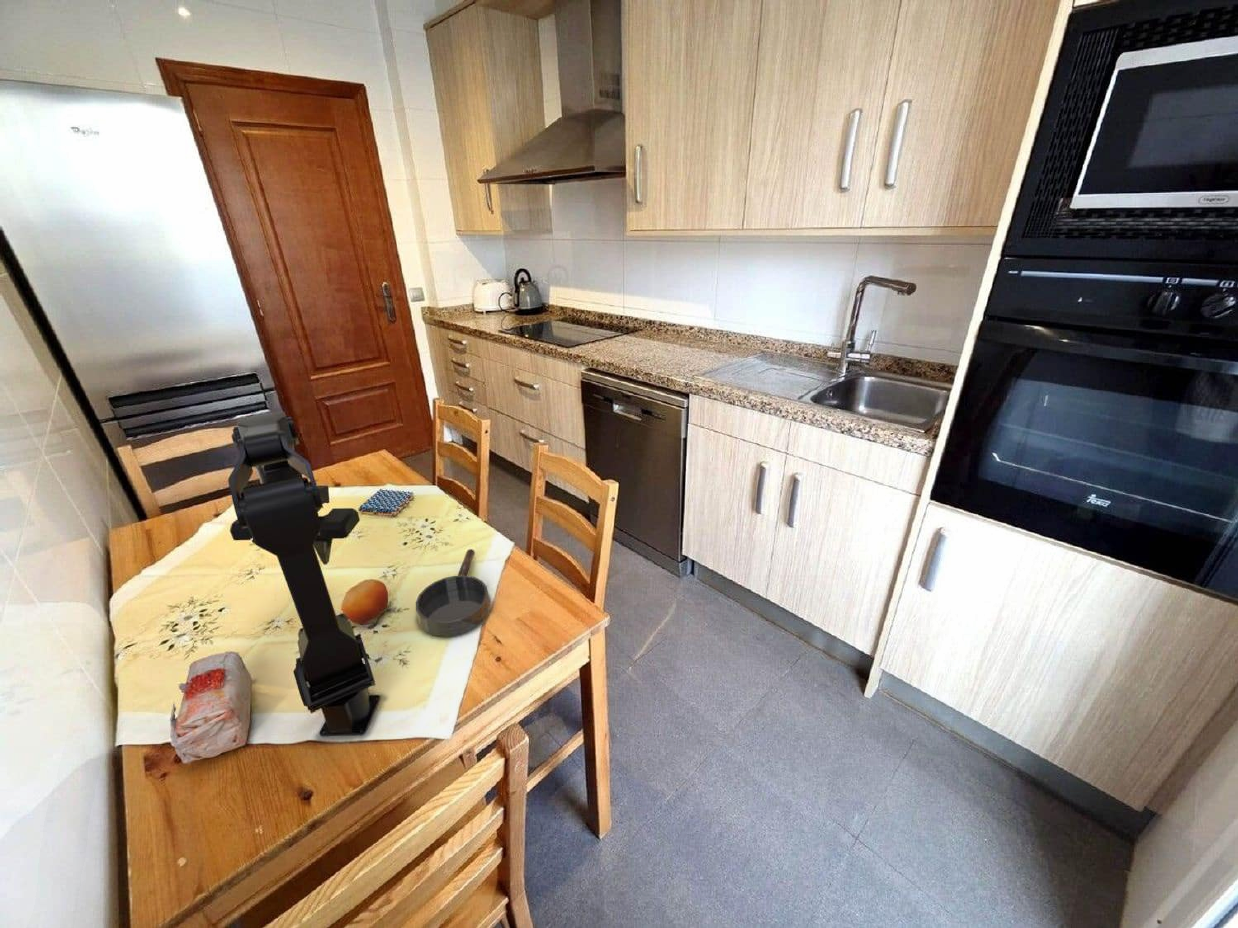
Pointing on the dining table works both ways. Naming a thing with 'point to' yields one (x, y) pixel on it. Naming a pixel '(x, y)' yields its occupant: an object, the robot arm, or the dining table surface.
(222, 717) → the food item
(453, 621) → the pan
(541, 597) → the dining table surface
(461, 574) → the pan handle
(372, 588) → the fruit
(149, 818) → the dining table surface
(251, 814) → the dining table surface
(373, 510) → the woven mat
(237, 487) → the robot arm
